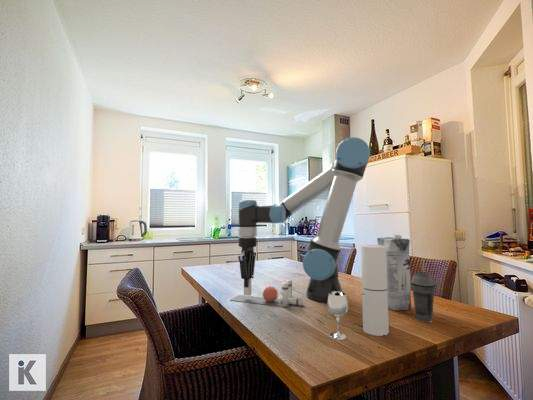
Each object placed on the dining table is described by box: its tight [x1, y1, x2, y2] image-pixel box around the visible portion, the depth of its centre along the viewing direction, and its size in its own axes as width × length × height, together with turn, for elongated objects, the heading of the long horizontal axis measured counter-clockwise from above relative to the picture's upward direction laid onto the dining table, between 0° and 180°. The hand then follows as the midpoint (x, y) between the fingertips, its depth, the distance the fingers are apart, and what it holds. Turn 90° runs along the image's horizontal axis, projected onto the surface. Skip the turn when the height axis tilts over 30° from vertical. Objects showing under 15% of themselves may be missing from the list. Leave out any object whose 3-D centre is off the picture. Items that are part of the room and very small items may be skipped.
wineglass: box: [326, 291, 349, 341], centre depth 79 cm, size 6×6×12 cm
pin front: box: [280, 296, 304, 306], centre depth 107 cm, size 2×2×8 cm
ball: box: [262, 286, 279, 302], centre depth 111 cm, size 6×6×6 cm
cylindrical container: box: [360, 244, 390, 337], centre depth 83 cm, size 7×7×25 cm
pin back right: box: [285, 279, 293, 298], centre depth 111 cm, size 2×2×8 cm
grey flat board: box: [230, 294, 290, 308], centre depth 112 cm, size 24×8×1 cm, turn 69°
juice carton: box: [376, 234, 412, 312], centre depth 105 cm, size 9×10×27 cm
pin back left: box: [281, 282, 289, 308], centre depth 106 cm, size 2×2×8 cm
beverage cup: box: [410, 258, 437, 323], centre depth 92 cm, size 7×7×20 cm
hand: (247, 294), depth 114 cm, fingers closed
